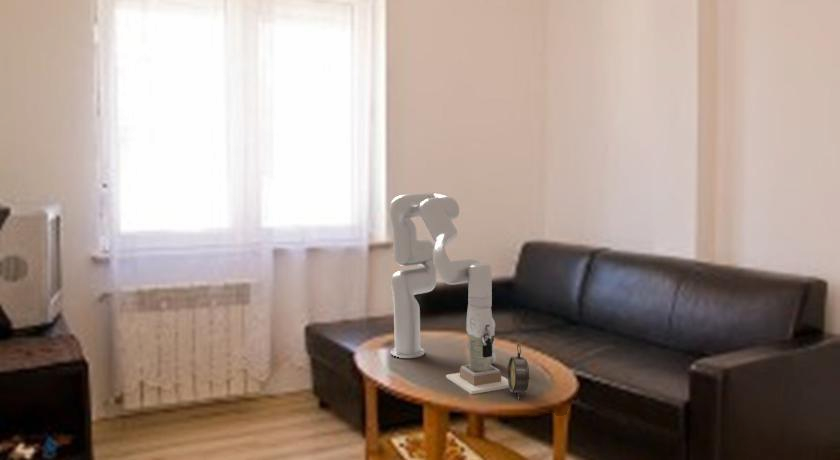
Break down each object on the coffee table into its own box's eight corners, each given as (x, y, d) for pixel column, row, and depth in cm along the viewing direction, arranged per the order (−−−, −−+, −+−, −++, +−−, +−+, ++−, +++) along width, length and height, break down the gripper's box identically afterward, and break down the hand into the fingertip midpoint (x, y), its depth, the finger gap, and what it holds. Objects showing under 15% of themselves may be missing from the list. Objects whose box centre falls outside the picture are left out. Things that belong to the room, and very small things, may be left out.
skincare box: (490, 368, 247) (490, 332, 245) (487, 372, 243) (487, 335, 241) (471, 367, 249) (471, 331, 247) (468, 371, 245) (467, 334, 243)
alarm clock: (506, 389, 239) (507, 339, 237) (523, 388, 239) (523, 339, 237) (514, 401, 228) (514, 349, 226) (531, 400, 228) (531, 348, 226)
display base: (446, 377, 251) (446, 363, 250) (488, 371, 257) (488, 357, 257) (471, 394, 235) (471, 379, 234) (515, 386, 241) (515, 372, 240)
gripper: (457, 297, 249) (457, 347, 251) (482, 308, 233) (482, 361, 235) (477, 295, 252) (477, 344, 254) (503, 305, 236) (503, 358, 238)
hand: (480, 352), depth 245 cm, fingers open, 9 cm apart
